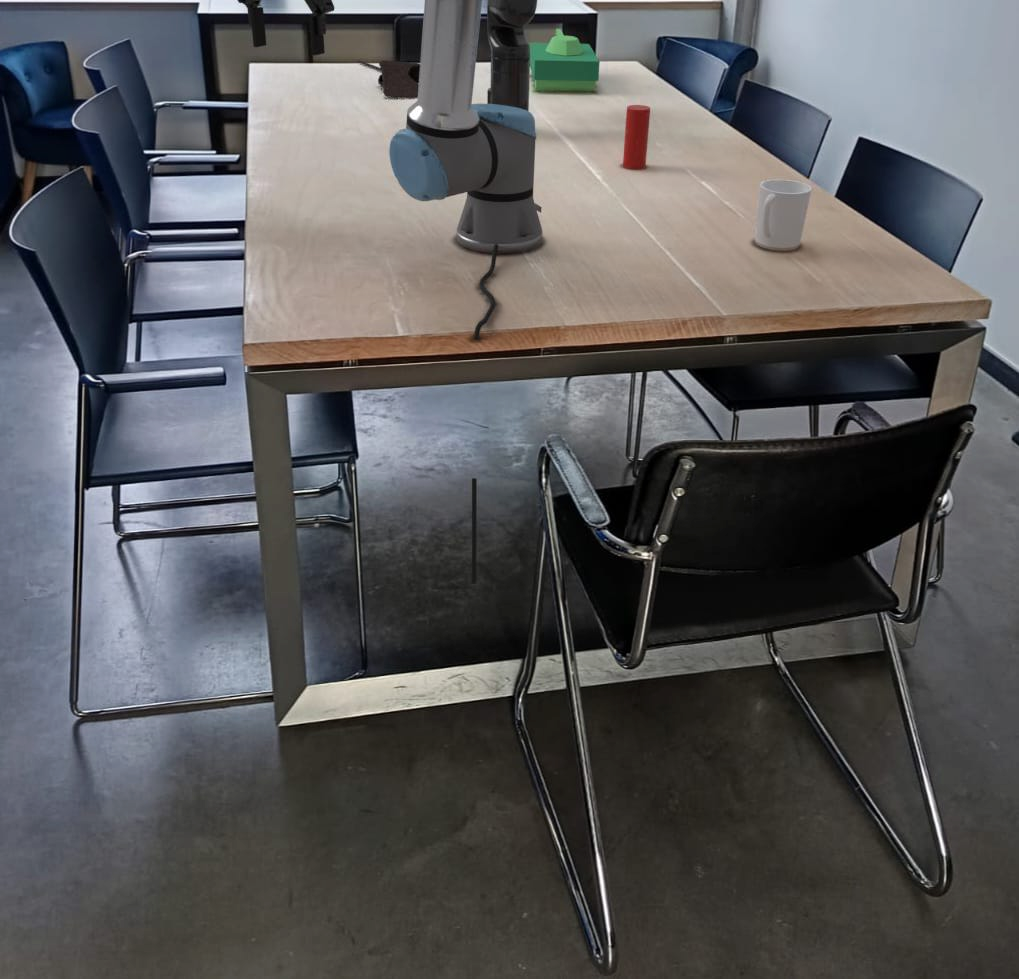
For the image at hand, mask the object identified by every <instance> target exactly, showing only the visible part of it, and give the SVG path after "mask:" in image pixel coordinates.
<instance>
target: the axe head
mask: <svg viewBox="0 0 1019 979" xmlns="http://www.w3.org/2000/svg"><path fill="white" fill-rule="evenodd" d="M378 67H379V68H380V69H381V71H380V72H381V74H379V75H378V79H377V84H378V85H379V86H380V87H381V88H382V89H383V95H384V96H385V97H388V98H394V99H395V98H396V99H403V98H405V99H406V98H407V99H411V98H418V88H419V74H420V62H410V61H408V62H407V61H397V60H388V59H387V60H380V61H379V62H378Z"/></svg>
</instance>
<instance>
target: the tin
mask: <svg viewBox="0 0 1019 979" xmlns="http://www.w3.org/2000/svg"><path fill="white" fill-rule="evenodd" d="M625 114H626V117H625V128H624V129H625V130H624V142H623V144H624V145H623V156H622V167H623V168H624V169H628V170H643V169H645V168H646V165H647V153H648V144H649V143H648V141H649V130H650V129H649V128H650V119H651V118H650V117H651V107H650V106H648V105H645V104H644V105H643V104H632V105H631V104H630V105H628V106H626V113H625Z"/></svg>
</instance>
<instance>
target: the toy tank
mask: <svg viewBox="0 0 1019 979" xmlns="http://www.w3.org/2000/svg"><path fill="white" fill-rule="evenodd" d="M529 44H530V74H531V75H530V76H532V77H533V81H534V91H535V92H536V91H538V92H595V89H596V82H599V78H600V77H599V76H600V62H601V61H600V60H599V58H598V57H597V55H596V53H595V52H594V50H593V48H592V47H591V45H590V43H581V42H580V40H579V38H578V37H576V36H573V35H564V33H563V30H562V29H561V28H555V35H554V36H553V37H551V39H550V41H549V42H529Z"/></svg>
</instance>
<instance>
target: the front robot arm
mask: <svg viewBox="0 0 1019 979" xmlns="http://www.w3.org/2000/svg"><path fill="white" fill-rule="evenodd" d="M237 2H238V4H243V5H244V6H245V7H246V9H247V18H248V25H249V27H251V36H252V45H253V48H260V47H266V46H267V37H266V25H265V15H264V14H265V13H264V7H263V6H262V4H261V3H262V0H237ZM304 2H305V4H306V6H307V7H308V8H309V11H310V12H311V14H310V15H308V19H309V34H310V46H311V47H310V48H311V56H319V55H323V54H325V52H326V51H325V36H324V35H326V34H327V24H326V23H327V22H326V15H327V14H328V13H331V12H332V13H333V12H334V11H335V5H334V2H333V0H304ZM423 7H424V9H423V20H422V21H423V22H422V33H421V34H422V35H421V45H420V46H421V47H420V62H419V64H420V74H419V88H418V97H417V100H416V101H415V102H413V103H412V105H410V106H409V107H408V108H407V110H406V124H405V128H403V129H400V130H398V131H396V132H395V134H394V135H393V136H392V137H391V139H390V142H389V150H388V151H389V152H388V153H389V154H388V155H389V161H390V166H391V169H392V172H393V175H394V178H396V180H397V182H398V184H399V186H400V187H401V189H402V190H403V191H404V192H405V194H407V195H408V196H409V197H410V198H412V199H414V200H415V201H416V200H417V201H419V202H430V201H442V200H445V199H446V198H450V197H453V196H458V195H461V194H466V198H465V202H464V205H463V209H462V211H461V214H460V218H459V220H458V224H457V227H456V241H457V243H458V244H459V245H461V246H462V247H464V248H466V249H468V250H470V251H475V252H479V253H486V254H492V256H491V263H490V268H489V270H488V271H487V272H486V273H485V274H484V275H483V276H482V277H481V278H480V280H479V283H478V285H479V289H480V291H481V292H482V293H483V294H484V295H485V296H486V297H487V298H488V299H489V301H490V305H489V308H488V310H487V311H486V313H485V315H484V317H483V318H482V319H481V320H480V321H478V323H476V327H475V329H474V332H473V341H478V340H479V339H480V338H479V337H480V332H481V330H482V329H481V328H482V327H483V326H484V325H485V324H487V323H488V321H489V320H490V317H491V316H492V314H493V313H494V311H495V307H496V299H495V297H494V295H493V294H492V293H491V292H490V291H489V290H488V289H487V288H486V286H485V282H486V280H488V279H489V278H490V277H491V276H492V274H493V273H494V270H495V268H496V262H497V256H498V255H499V254H500V255H506V254H507V255H508V254H517V253H524V252H527V251H530V250H533V249H536V248H538V247H539V246H540V245H541V244H542V243H543V229H542V224H541V221H540V220H541V219H540V218H539V214H538V213H540V214H541V213H542V206H541V205H539V204H537V203H535V199H534V184H535V181H534V180H535V161H536V160H535V158H536V140H537V135H536V121H535V120H536V119H535V117H534V115H533V114H532V113H531V112H530V111H529V112H528V111H526V110H524V109H520V108H516V107H511V106H505V105H497V104H487V103H473V93H474V83H475V74H476V73H475V72H476V65H477V64H476V63H477V57H478V56H477V55H478V44H479V36H480V25H481V16H482V7H483V0H424V6H423ZM477 481H478V480H477V478H473V477H472V478H471V584H472V585H476V584H477V503H478V502H477V494H478V493H477V485H478V484H477Z"/></svg>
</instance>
